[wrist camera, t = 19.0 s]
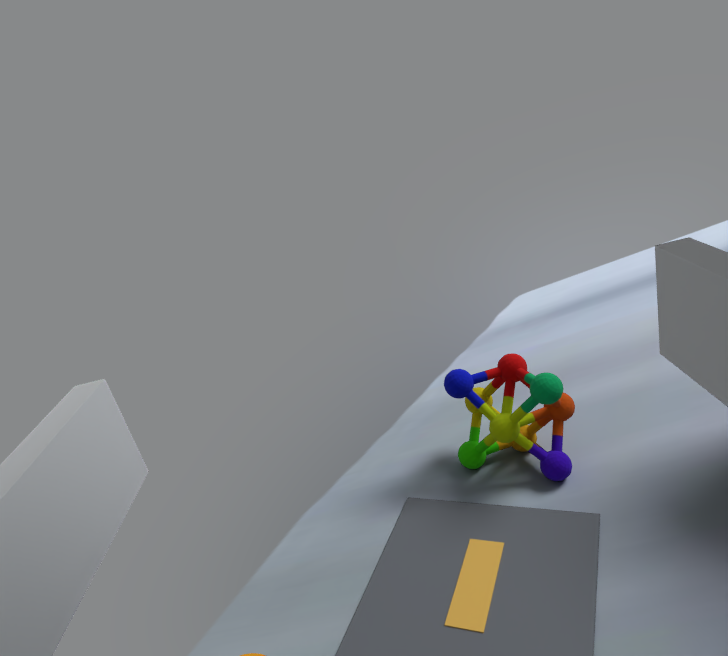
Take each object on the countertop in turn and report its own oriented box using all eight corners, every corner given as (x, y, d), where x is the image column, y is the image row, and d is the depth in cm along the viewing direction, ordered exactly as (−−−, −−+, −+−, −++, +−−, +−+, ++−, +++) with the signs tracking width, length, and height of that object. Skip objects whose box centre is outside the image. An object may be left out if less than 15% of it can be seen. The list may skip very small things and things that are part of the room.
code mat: (600, 515, 49) (599, 513, 49) (590, 724, 34) (589, 721, 34) (408, 499, 57) (407, 496, 57) (334, 662, 42) (332, 659, 42)
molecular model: (454, 473, 59) (435, 378, 54) (478, 434, 64) (463, 344, 60) (566, 494, 53) (556, 388, 48) (583, 449, 58) (574, 350, 53)
